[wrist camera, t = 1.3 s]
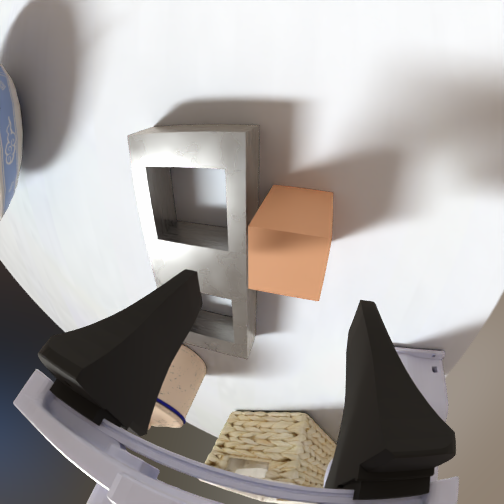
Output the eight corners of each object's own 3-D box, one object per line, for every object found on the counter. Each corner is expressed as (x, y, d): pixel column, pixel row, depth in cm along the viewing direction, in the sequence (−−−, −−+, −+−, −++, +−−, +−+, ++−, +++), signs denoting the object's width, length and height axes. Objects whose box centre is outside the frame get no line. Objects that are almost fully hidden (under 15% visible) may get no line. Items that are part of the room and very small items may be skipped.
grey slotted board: (152, 126, 18) (127, 135, 15) (259, 125, 16) (245, 132, 13) (184, 318, 29) (173, 338, 27) (255, 336, 27) (247, 359, 25)
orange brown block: (333, 192, 17) (331, 238, 12) (325, 243, 19) (318, 301, 15) (273, 184, 18) (248, 226, 13) (271, 235, 20) (248, 288, 15)
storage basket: (346, 448, 43) (334, 509, 31) (277, 448, 51) (260, 501, 39) (311, 405, 34) (289, 499, 22) (221, 404, 41) (190, 477, 30)
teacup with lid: (177, 331, 31) (131, 411, 22) (222, 374, 34) (190, 449, 25) (129, 340, 37) (90, 399, 28) (168, 376, 40) (138, 434, 31)
